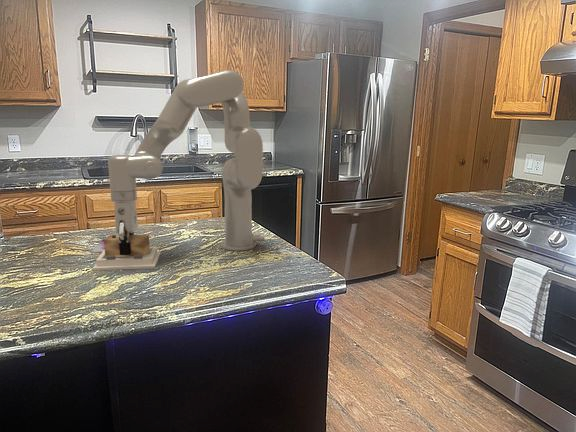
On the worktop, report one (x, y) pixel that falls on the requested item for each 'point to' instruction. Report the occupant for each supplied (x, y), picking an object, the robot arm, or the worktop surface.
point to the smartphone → (99, 247)
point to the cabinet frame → (127, 261)
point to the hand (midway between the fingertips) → (127, 250)
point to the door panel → (136, 242)
